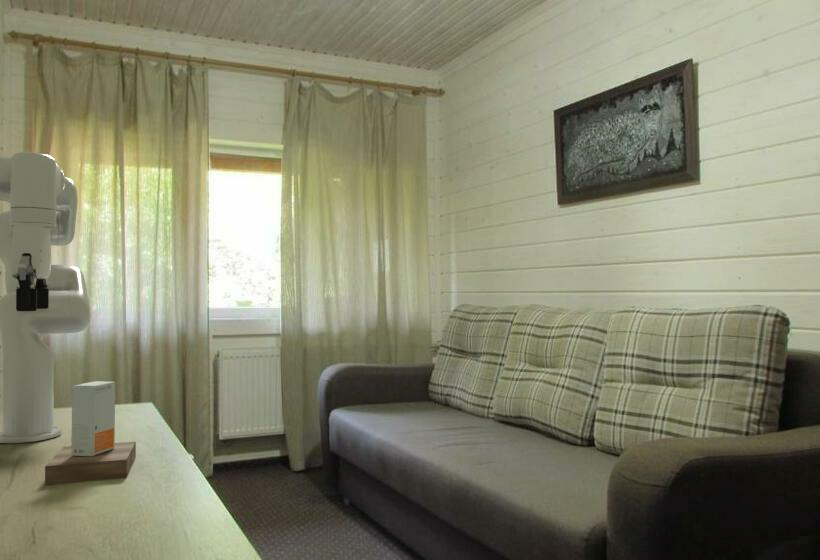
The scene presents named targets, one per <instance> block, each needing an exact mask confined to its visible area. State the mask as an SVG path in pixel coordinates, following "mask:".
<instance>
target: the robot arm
mask: <svg viewBox="0 0 820 560" xmlns="http://www.w3.org/2000/svg"><path fill="white" fill-rule="evenodd" d="M78 197H79V196H78V190H77V187H76V184H75V182H74V181H73V179H71V178H69V177H66V176H65V173H64V170H62V169H61V166H59V164H57V162H56V160H55V158H54V157H52V156H51V155H49V154H46V153H41V152H32V151H21V152H16V153H14V154H13V155H11V156H2V155H1V156H0V201H4V202H6V203H10V204H9V205H10V206H9V210H4V211H1V212H0V261H1V263H2V264H3V266H4V269H5V271H4V274H5V276H4V278H5V280H4V281H5V283H4V284H5V292H6V294H4V295H3V296H2V297H1V298H0V337H1V356H2V359H1V360H2V361H1V363H2V365H1V366H2V367H1V368H2V384H1V385H2V386H1V387H2V388H1V389H2V391H1V393H2V394H1V395H2V396H1V397H2V399H1V400H2V401H1V406H2V409H1V412H2V414H1V415H2V416H1V421H2V422H1V424H2V425H1V431H0V444H21V443H31V442H33V443H34V442H39V441H44V440H49V439H53V438H56V437H58V436H61V434H62V433H63V431H62V427H60V426H54V425H55V424H54V420H55V419H54V416H55V415H54V414H55V413H54V408H55V407H54V404H55V403H54V402H55V401H54V400H55V399H54V394H55V393H54V392H55V391H54V390H55V388H54V386H55V385H54V383H55V382H54V381H55V380H54V379H55V377H54V375H55V371H54V369H55V368H54V367H55V364H54V361H55V360H54V353H53V351H52V349H51V348H50V346H49V345H48V344H46V343H45V342H44V341H43V339H41V337H40V336H42V335H54V334H55V335H57V334H59V335H60V334H74V333H75V334H76V333H80V332H82V331H84V330H85V329H87V327H88V326H89V323H90V320H91V306H90V301H89V300H90V299H89V295H88V290H87V285H86V280H85V276H84V273H83V271H82V270H81V269H80V268H79V267H77V266H74V265H72V264H71V265H69V264H52V249H51V248H52V246H56V247H59V246H60V247H62V246H67V245H69V244H71V243H72V241H74V238H75V234H76V226H77V225H76V223H77V222H76V221H77V214H78V202H79V200H78Z"/></svg>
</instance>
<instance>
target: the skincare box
mask: <svg viewBox="0 0 820 560" xmlns="http://www.w3.org/2000/svg"><path fill="white" fill-rule="evenodd" d="M115 429H116V382H115V381H104V380H103V381H101V380H99V381H90V382H85V383H80V384H76V385H72V387H71V445H70V446H71V455H72V456H94V455H97V454H100V453H103V452H106V451H109V450H112V449H114V445H115V443H116V442H115V437H116V435H115V433H116V431H115Z"/></svg>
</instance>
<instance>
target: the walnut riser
mask: <svg viewBox="0 0 820 560" xmlns="http://www.w3.org/2000/svg"><path fill="white" fill-rule="evenodd" d="M136 442H137V441H136V440H134V441H123V442H122V441H121V442H115V445H114V449H112V450H109V451H106V452H103V453H100V454H97V455H94V456H72V455H71V445H70V446H69V445H68V446H63V447H62V448H61V449H60V450H59V451H58V452H57V453H56V454H55V455H54V456H53V457H52V459H51V460H50V461H48V463H47V464H46V465H45V466H44V486H51V485H52V486H53V485H64V484H72V483H73V484H74V483H85V482H95V481H96V482H97V481H106V480H117V479H127V478H128V476H129V473H130V472H131V469H132V466H133V464H134V463H135V461H136V456H137V454H136V452H137V451H136V448H137V447H136V445H137V444H136Z"/></svg>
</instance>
